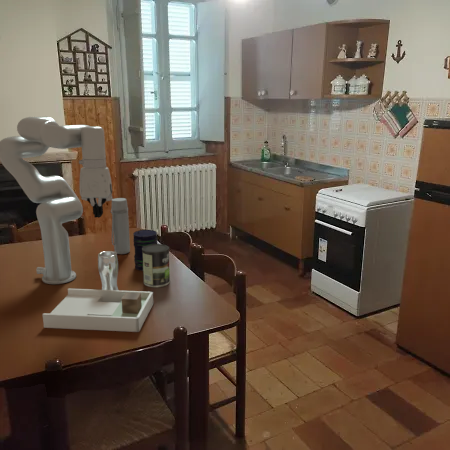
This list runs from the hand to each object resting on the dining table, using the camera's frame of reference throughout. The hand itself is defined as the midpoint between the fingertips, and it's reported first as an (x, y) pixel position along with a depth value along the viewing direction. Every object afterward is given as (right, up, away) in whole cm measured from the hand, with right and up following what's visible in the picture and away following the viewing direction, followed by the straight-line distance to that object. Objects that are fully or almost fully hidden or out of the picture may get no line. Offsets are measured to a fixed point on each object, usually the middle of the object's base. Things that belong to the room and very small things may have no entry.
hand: (98, 216), depth 155 cm
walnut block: (+14, -31, -10) cm, 35 cm away
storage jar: (+11, -21, +34) cm, 42 cm away
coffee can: (+18, -25, +18) cm, 36 cm away
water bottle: (-4, -16, +51) cm, 53 cm away
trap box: (+4, -33, -8) cm, 34 cm away
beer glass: (+2, -28, +9) cm, 29 cm away
